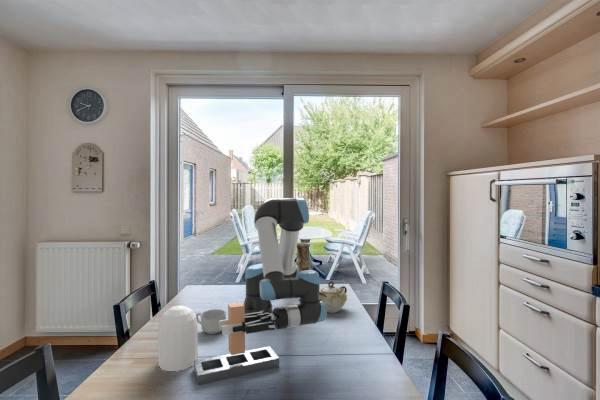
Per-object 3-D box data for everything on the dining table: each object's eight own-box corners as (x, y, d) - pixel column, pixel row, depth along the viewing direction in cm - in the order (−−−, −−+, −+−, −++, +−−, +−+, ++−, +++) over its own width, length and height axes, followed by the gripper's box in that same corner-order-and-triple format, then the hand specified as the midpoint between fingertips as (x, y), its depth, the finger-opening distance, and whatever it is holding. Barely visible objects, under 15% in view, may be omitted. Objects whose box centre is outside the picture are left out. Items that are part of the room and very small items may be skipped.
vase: (292, 295, 203) (292, 244, 202) (296, 290, 214) (295, 241, 213) (310, 295, 201) (310, 244, 201) (312, 290, 212) (312, 241, 211)
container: (156, 358, 126) (155, 304, 126) (193, 350, 133) (192, 298, 132) (161, 375, 114) (160, 315, 114) (202, 365, 121) (201, 308, 120)
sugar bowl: (325, 318, 165) (325, 287, 165) (307, 309, 177) (307, 280, 177) (356, 310, 176) (356, 280, 176) (337, 302, 188) (337, 275, 188)
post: (228, 349, 119) (228, 303, 119) (241, 347, 121) (241, 301, 121) (231, 355, 115) (230, 307, 115) (245, 352, 117) (244, 305, 117)
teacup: (231, 328, 153) (230, 311, 153) (215, 338, 144) (215, 319, 143) (206, 324, 159) (206, 306, 159) (189, 332, 149) (189, 314, 149)
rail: (194, 369, 118) (193, 360, 118) (269, 354, 129) (269, 346, 129) (198, 384, 108) (197, 375, 108) (279, 366, 119) (279, 358, 119)
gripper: (295, 336, 117) (226, 349, 108) (277, 319, 133) (216, 329, 124) (294, 314, 117) (225, 325, 108) (277, 300, 133) (215, 308, 124)
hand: (220, 327), depth 116 cm, fingers closed on post, 5 cm apart
